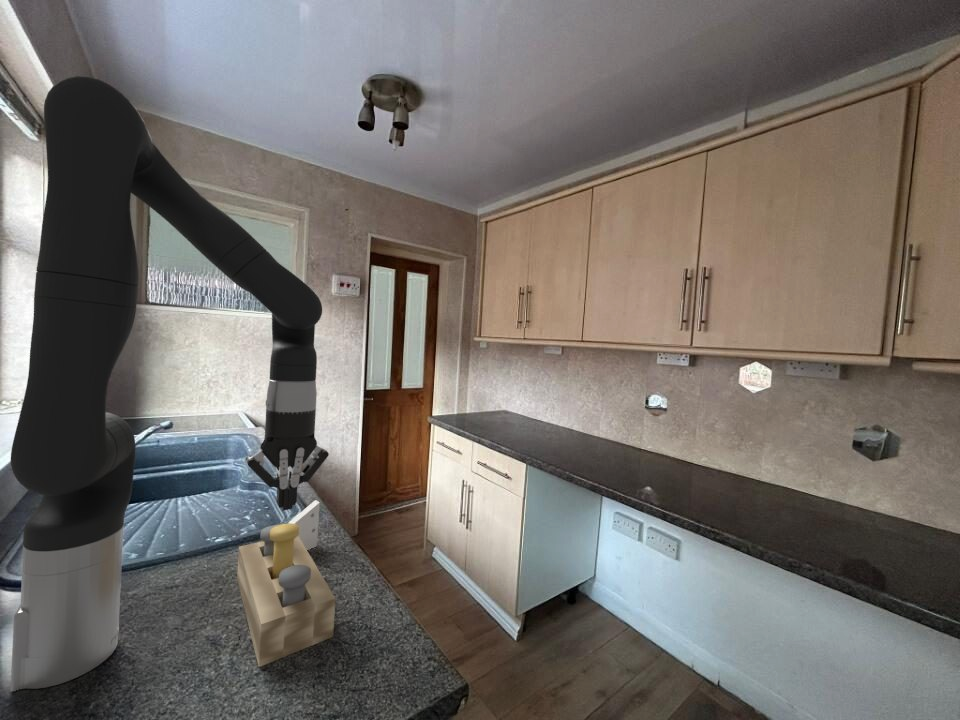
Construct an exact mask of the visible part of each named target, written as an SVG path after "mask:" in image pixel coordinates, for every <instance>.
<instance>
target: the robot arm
mask: <svg viewBox="0 0 960 720" xmlns="http://www.w3.org/2000/svg"><path fill="white" fill-rule="evenodd" d="M43 119H44V133H45V145H46V147H45V149H46V161H47V162H46V163H47V190H46V196H45V202H44V203H45V204H44V210H43V214H42V215H43V216H42V223H41V231H40V240H39V241H40V242H39V252H38V258H37V262H36V263H37V264H36V272H35V282H34V283H35V284H34V294H33V319H32V330H31V338H30V348H29V351H30V352H29V363H28V367H29V368H28V376H27V382H26V388H25V391H24V392H25V393H24V397H23V401H22V404H21V409H20V413H19V417H18V420H17V421H18V422H17V425H16V430H15V433H14V437H13V441H12V446H11V451H10V465H11V466H10V467H11V470H12V473H13V476H14V477H15V478H16V480H17V481H18V482H19V484H20V485H21V486H22V487H24V488H25V489H26V490H28V491H29V492H32V493H34V494H37V495H41V496H42V498H41V501H40V502H39V504H38V506H37V507H36V509H35V510H34V512H33V513H32V514H31V515H30V517H29V518H28V520H27V521H26V523H25V525H24V528H23V535H22V545H23V546H22V547H23V548H22V564H21V566H22V568H21V582H20V583H21V584H20V585H21V587H20V588H21V589H20V604H19V607H18V608H17V610H16V611H15V612H14V613H15V614H14V615H13V627H12V628H13V629H12V632H13V633H12V651H11V652H12V654H11V670H10V671H11V672H10V673H11V674H10V675H11V676H10V692H11V693H13V692H12V691H14V692H16V690H17V691H20V690H23V689H33V690H34V689H35V690H37V689H44V688H50V687H54V686H57V685H61V684H64V683H67V682H70V681H72V680H74V679H77V678H79V677H81V676H83V675H85V674H87V673H88V672H90V671H92V670H93V669H95V668H97V667H98V666H100V665H101V664H102V663H103V662H105V661H107V659H108V658H109V657H110V656H112V654H114V652H115V650H116V649H117V646H118V645H119V643H118V642H119V631H120V627H119V623H120V606H121V604H120V603H121V591H122V590H121V589H122V588H121V584H122V570H123V569H122V568H123V567H122V566H123V550H124V548H123V547H124V529H125V528H124V527H125V515H126V511H127V508H128V506H129V504H130V501H131V497H132V492H133V491H132V490H133V482H134V474H135V471H134V470H135V462H136V461H135V460H136V439H135V435H134V434H135V433H134V432H133V429H132V427H131V426H130V424H129V423H128V422H127V421H126V420H125V419H123V418H122V417H121V416H118V415H117V414H115V413H111V412H107V394H108V386H109V382H110V379H111V375H112V373H113V370H114V368H115V366H116V363H117V362H118V359H119V358H120V356H121V353H122V351H123V350H124V347H125V346H126V343H127V341H128V339H129V337H130V335H131V333H132V330H133V325H134V322H135V317H136V313H137V306H138V305H137V302H138V294H139V293H138V291H139V265H138V263H139V261H138V253H137V248H136V247H137V246H136V241H135V236H134V229H133V225H132V224H133V223H132V218H131V217H132V216H131V195H133V196H134V197H136V198H137V199H139V200H140V201H141V202H143V203H145V205H146V206H148V207H150V209H152V210H153V211H154V212H156V214H158V215H159V216H161V217H162V218H163V219H164V220H165V221H166V222H168V223H169V224H170V225H171V226H172V227H173V228H174V230H176V231H178V232H179V234H180V235H182V236H183V237H184V238H185V239H186V240H187V241H188V242H189V243H190V244H191V246H193V247H194V248H195V249H196V250H197V251H198V252H199V253H201V255H203V256H204V257H205V258H206V259H207V260H208V261H209V263H210V262H211V264H213V265H214V266H215V267H216V268H217V269H218V270H219V271H221V272H222V273H223V274H224V275H225V276H226V277H227V278H228V279H230V280H231V281H232V282H233V283H234V284H236V285H237V286H238V287H239V288H241V289H242V290H243V291H245V292H248V293H250V294H251V295H252V296H254V297H255V298H256V300H257V301H259V303H261V304H262V305H263V306H264V307H265V308H266V309H267V310H269V311H270V313H271V335H272V336H271V337H272V339H271V340H272V347H271V348H272V349H271V355H270V361H269V362H270V364H269V365H270V367H269V380H268V381H269V382H268V386H267V392H266V400H265V422H264V423H265V425H264V427H265V428H264V439H263V442H262V443H261V444H260V449H259V450H258V451H257V452H256V453H253V455H248V456H246V457H245V462H246V464H247V466H248V467H249V468H250V469H251V471H253V472H254V473H255V475H257V476H258V478H260V479H261V481H262V482H264V483H265V485H267V486H268V487H269V488H276V501H275V502H276V505H277V506H278V508H279V509H281V511H288V510H292V509H293V506H296V504H297V500H298V499H297V498H298V487H299V485H301V484H302V483H307V482H309V481H310V480H311V479H312V478H313V476H314V475H315V473H316V472H317V471H318V470H319V468H320V467H321V466H322V465H323V463H324V462H325V461H326V460H327V458H328V457H329V452H328V451H327V450H326V449H325V448H322V447H320V446H318V441H317V439H316V437H315V433H316V432H315V430H316V415H317V414H316V413H317V396H318V395H317V383H316V382H317V365H318V360H317V359H318V357H317V351H316V348H315V330H316V325H317V323H318V322H320V320H321V318H322V315H323V305H322V301H321V300H320V298H319V296H318V295H317V293H315V291H313V289H312V288H311V287H310V286H308V284H306V283H305V282H304V281H303V280H301V278H299V277H298V276H296V275H295V274H294V273H293V272H292V271H290V270H289V269H288V268H286V267H285V266H283V265H282V264H280V262H279V261H278V260H276V259H275V258H274V256H272V254H271V253H270V252H269V251H267V249H266V248H265V247H264V246H263V245H261V243H260V242H259V241H257V240H256V239H255V237H253V236H252V235H251V234H250V233H249V232H248V231H247V230H246V229H245V228H244V227H242V226H241V225H240V224H239V223H238V222H236V221H235V220H234V219H233V218H232V217H231V216H229V215H228V214H227V213H226V212H224V211H222V210H221V209H219V208H218V207H217V206H215V204H213V203H212V202H210V201H209V200H208V199H207V198H205V197H204V196H202V195H201V194H200V193H199V192H198V190H196V189H195V188H194V187H193V186H191V184H189V183H188V181H186V180H185V179H184V178H183V176H181V174H180V173H178V171H177V170H176V169H175V167H174V166H172V164H171V163H170V162H169V161H168V159H167V158H166V157H165V156H164V154H162V152H161V151H160V149H159V148H158V147H157V146H156V144H155V143H154V140H153V137H152V135H151V133H150V131H149V129H148V127H147V125H146V123H145V121H144V119H143V116H142V115H141V114H140V112H139V111H138V109H137V108H136V107H135V105H134V104H133V103H132V102H131V100H129V99H128V98H127V97H126V96H125V95H124V94H123V93H122V92H121V91H120V90H118V89H116V88H115V87H114V86H113V85H111V84H109V83H107V82H105V81H104V80H100V79H98V78H94V77H90V76H83V75H81V76H79V75H77V76H69V77H66V78H64V79H62V80H60V81H58V82H57V83H55V84H54V85H52V87H51V88H50V90H49V91H48V92H47V95H46V97H45V100H44V104H43ZM310 456H311V458H310V460H309V461H308V462H307V464H306V465H305V466H304V467H303V464H304V463H305V462H306V461H307V460H308V459H309V457H310ZM264 457H266V458H267V460H268V462H270V463H271V464H272V466H274V467H275V472H276V476H272V474H270V473H269V471H267V469H266V468H265V467H264V465H265V460H264ZM302 467H303V468H302ZM19 689H20V690H19Z"/></svg>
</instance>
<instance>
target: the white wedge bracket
mask: <svg viewBox="0 0 960 720" xmlns="http://www.w3.org/2000/svg"><path fill="white" fill-rule="evenodd" d="M320 506H321V505H320V502H319V501H318V500H316V499H315V500H313V502H311V503H310V504H309V505H307V506H306V507H305V508H304V509H303V510H302V511H301V512H299V513H298V514H297V515H296V516H294V517H293V518H292V519H291V520H290V521H288V522H287V524H296V525H298V526H299V535H298V536H299V538H300V540H301V541H302V543H303V545H304V546H305V548H306V550H308V549H311V548H314V547H316V546H317V547H318V536H319V519H320V518H319V517H320ZM314 549H315V548H314Z"/></svg>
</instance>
